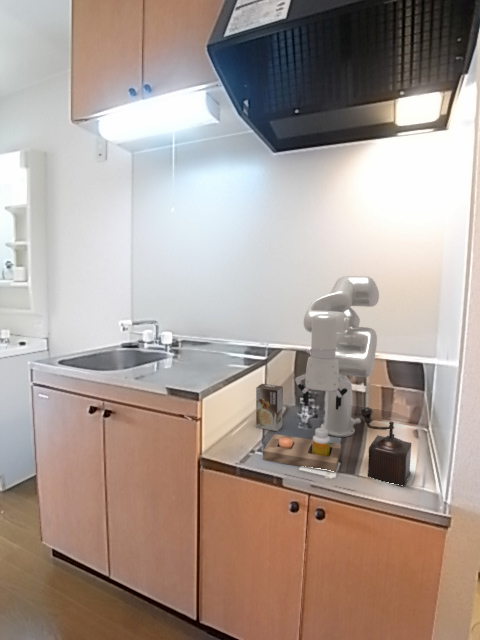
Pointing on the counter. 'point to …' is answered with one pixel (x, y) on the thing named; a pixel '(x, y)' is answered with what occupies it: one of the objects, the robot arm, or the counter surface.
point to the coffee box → (269, 407)
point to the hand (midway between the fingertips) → (321, 406)
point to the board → (301, 453)
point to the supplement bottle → (321, 442)
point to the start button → (285, 443)
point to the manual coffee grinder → (387, 454)
